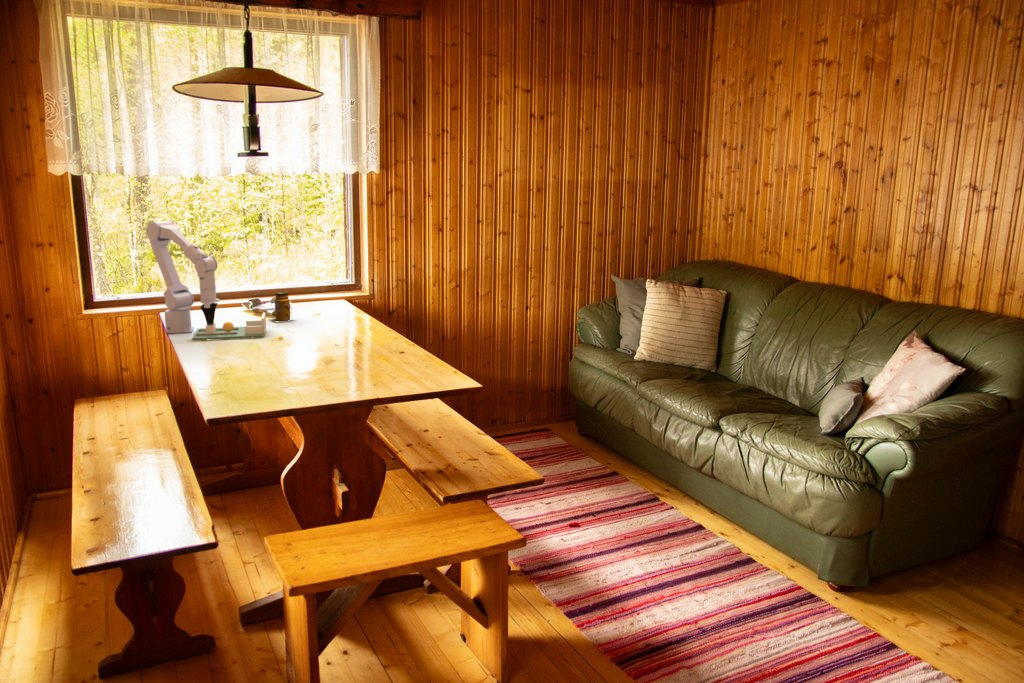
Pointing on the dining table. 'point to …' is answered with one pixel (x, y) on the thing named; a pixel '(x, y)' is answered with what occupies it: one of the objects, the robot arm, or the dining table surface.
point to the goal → (256, 326)
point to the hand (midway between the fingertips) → (210, 322)
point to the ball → (228, 326)
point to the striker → (211, 328)
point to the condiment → (282, 307)
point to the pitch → (223, 334)
